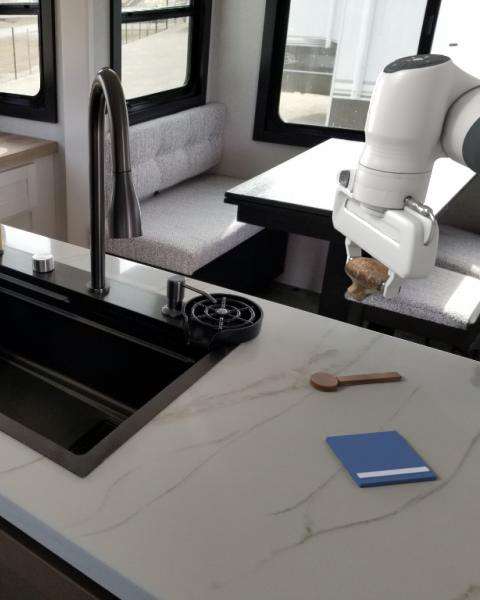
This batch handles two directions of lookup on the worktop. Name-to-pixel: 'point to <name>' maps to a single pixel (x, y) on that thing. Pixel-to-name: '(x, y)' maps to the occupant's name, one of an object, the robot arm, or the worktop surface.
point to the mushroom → (366, 277)
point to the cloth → (379, 459)
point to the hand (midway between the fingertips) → (369, 281)
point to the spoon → (349, 379)
